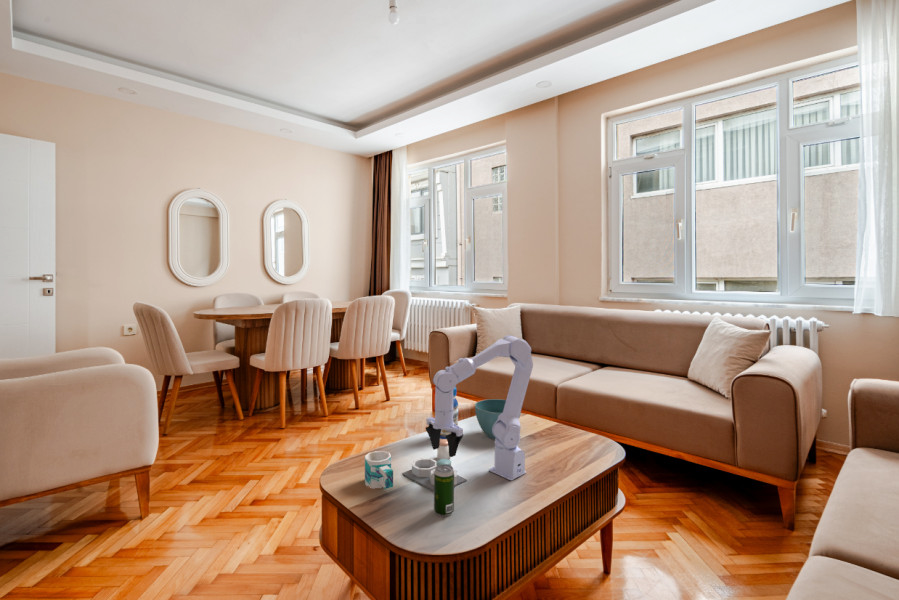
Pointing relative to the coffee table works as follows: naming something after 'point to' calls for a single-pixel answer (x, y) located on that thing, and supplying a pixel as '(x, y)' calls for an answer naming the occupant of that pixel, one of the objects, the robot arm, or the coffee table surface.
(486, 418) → the teal bowl
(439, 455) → the rounded-end tube
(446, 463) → the teal-capped white cylinder
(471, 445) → the coffee table surface
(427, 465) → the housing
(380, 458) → the mug
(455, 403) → the beverage bottle
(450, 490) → the beer can
